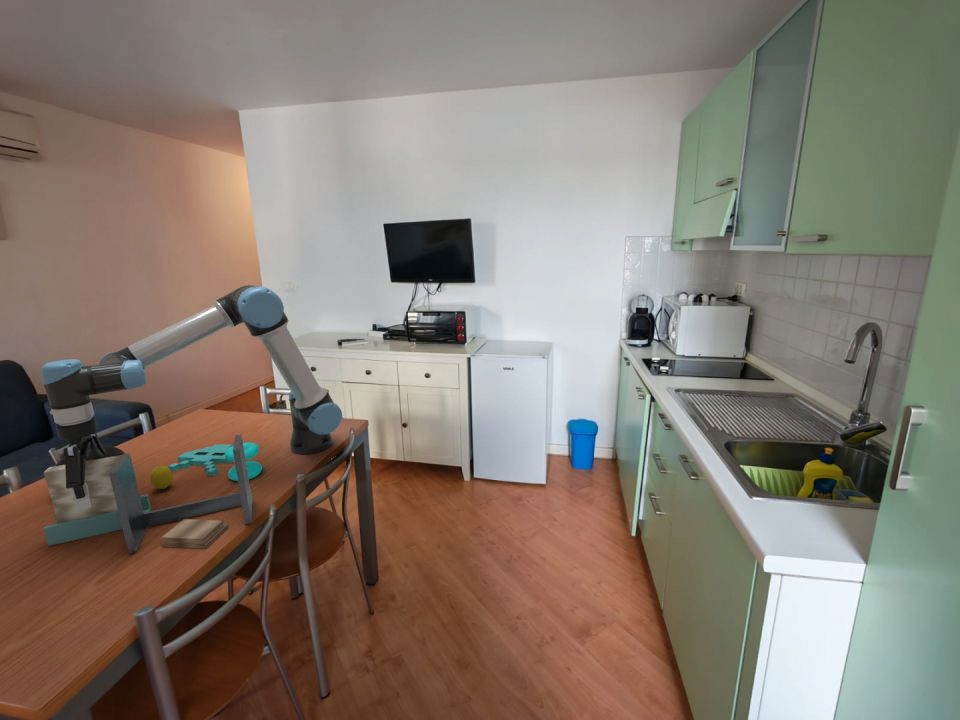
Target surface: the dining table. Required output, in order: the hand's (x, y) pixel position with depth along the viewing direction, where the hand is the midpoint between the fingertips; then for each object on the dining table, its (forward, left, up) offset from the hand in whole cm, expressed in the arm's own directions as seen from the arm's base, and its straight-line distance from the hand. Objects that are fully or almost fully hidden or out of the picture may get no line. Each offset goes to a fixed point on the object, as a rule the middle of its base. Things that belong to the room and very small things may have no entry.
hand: (94, 494), depth 115 cm
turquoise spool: (-34, -14, -10) cm, 38 cm away
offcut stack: (-24, +17, -10) cm, 31 cm away
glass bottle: (+9, -28, -10) cm, 31 cm away
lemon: (-11, -16, -10) cm, 22 cm away
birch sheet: (0, 0, -9) cm, 9 cm away
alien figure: (-21, -32, -10) cm, 39 cm away
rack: (-23, +12, -10) cm, 27 cm away
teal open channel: (0, 0, -10) cm, 10 cm away
